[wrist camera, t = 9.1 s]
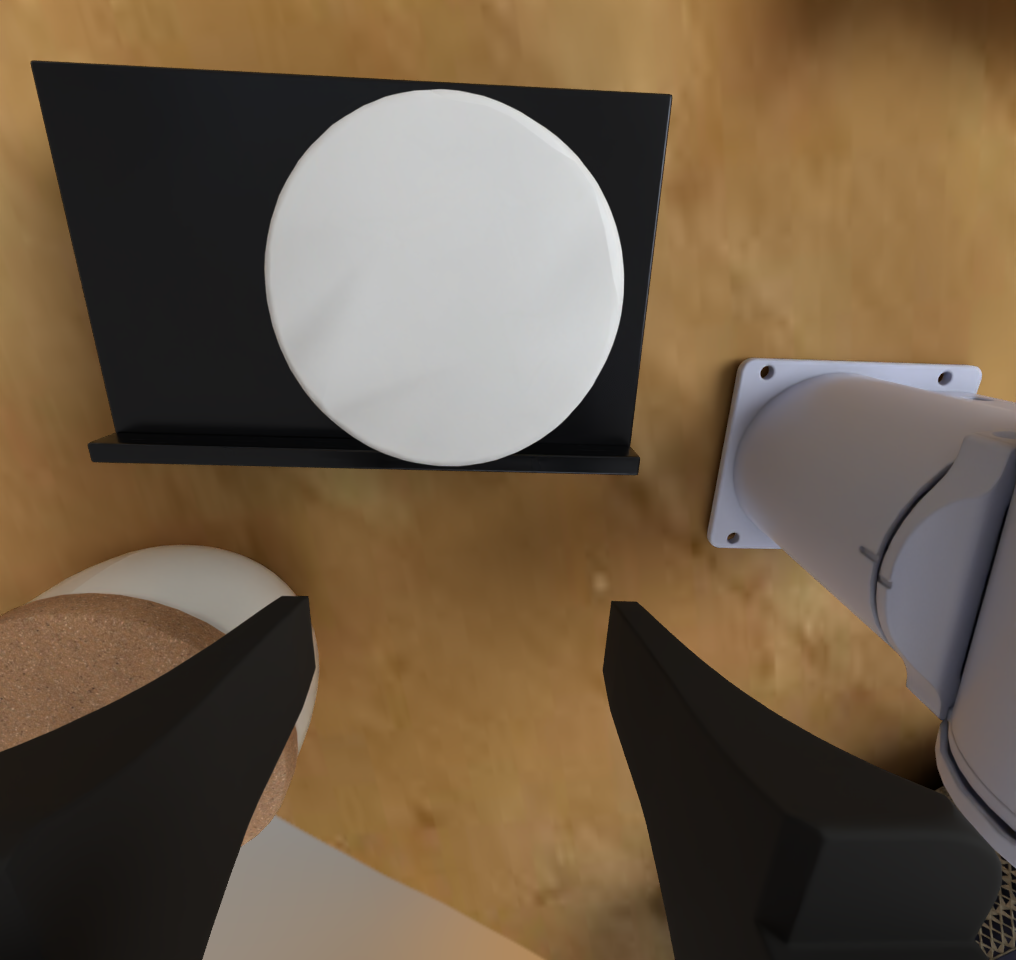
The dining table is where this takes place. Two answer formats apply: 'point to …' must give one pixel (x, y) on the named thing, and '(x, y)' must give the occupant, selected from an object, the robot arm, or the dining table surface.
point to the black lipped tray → (242, 244)
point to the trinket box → (133, 641)
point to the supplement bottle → (443, 277)
